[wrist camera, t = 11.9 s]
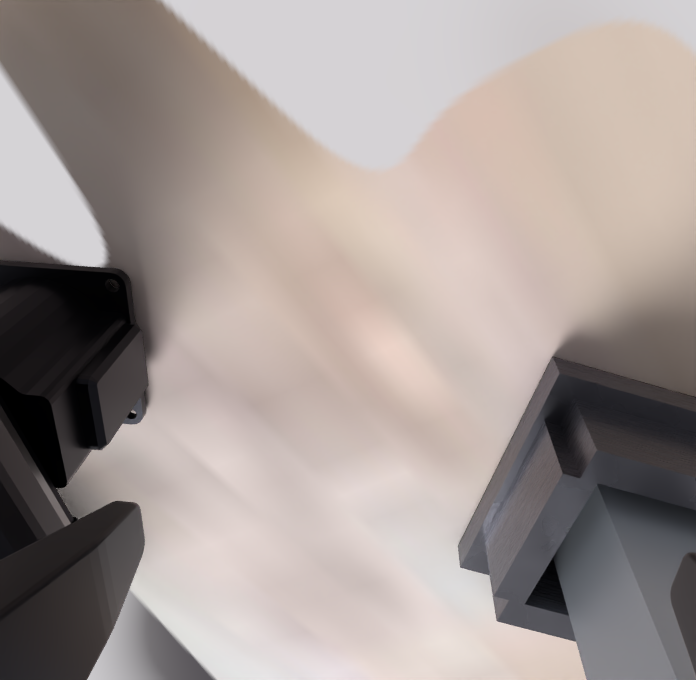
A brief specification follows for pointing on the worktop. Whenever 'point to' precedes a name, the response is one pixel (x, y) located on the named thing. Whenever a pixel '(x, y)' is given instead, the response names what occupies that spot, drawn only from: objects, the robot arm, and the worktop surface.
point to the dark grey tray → (573, 480)
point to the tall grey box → (626, 585)
